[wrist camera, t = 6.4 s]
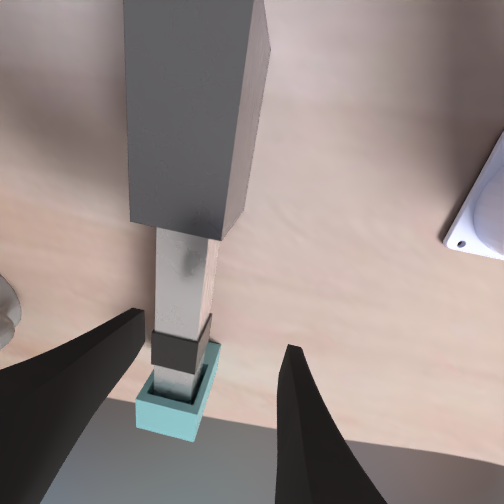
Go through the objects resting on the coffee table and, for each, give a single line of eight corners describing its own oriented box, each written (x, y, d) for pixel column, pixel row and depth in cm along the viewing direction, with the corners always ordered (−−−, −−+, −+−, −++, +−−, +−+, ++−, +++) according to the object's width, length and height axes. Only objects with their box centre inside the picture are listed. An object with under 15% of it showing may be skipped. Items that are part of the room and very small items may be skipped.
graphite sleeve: (270, 49, 14) (258, -35, 8) (243, 210, 18) (220, 241, 12) (193, 36, 15) (121, -56, 8) (183, 197, 19) (130, 221, 12)
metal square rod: (235, 144, 14) (222, 142, 11) (202, 381, 22) (189, 417, 19) (181, 134, 14) (153, 129, 11) (169, 373, 22) (150, 407, 19)
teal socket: (220, 344, 24) (197, 415, 18) (216, 369, 25) (193, 442, 19) (175, 333, 24) (135, 399, 18) (173, 358, 26) (136, 427, 19)
